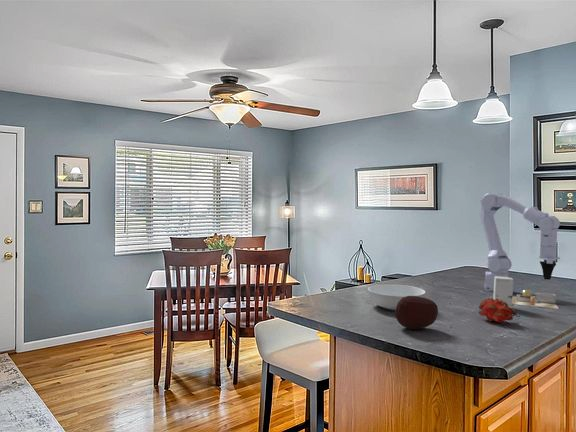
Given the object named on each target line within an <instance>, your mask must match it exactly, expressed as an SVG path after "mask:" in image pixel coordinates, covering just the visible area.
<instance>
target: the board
mask: <svg viewBox="0 0 576 432" xmlns="http://www.w3.org/2000/svg"><path fill="white" fill-rule="evenodd" d="M512 305H517V306H518V305H519V306H527V307H528V306H529V307H539V308H548V309H556V310H557V309H559V307H558V305H557V303H547V302H537V303H536V302H535V305H531V302H526V301H517V298H516V296H514V295H513V296H512Z"/></svg>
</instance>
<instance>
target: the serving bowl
mask: <svg viewBox="0 0 576 432" xmlns="http://www.w3.org/2000/svg"><path fill="white" fill-rule="evenodd" d="M367 293H368V297H369V299H370V300H371V301H372V302H373V303H374V304H375V305H376V306H378V307H381V308H384V309H387V310H389V311H396V306H397V304H398V302H399V301H400V300H401V299H402V298H403V297H406V296H418V297H423V298H426V293H427V292H426V290H424V288H420V287H417V286H412V285H406V284H405V285H404V284H389V283H387V284H386V283H385V284H375V285H371V286H368V288H367Z"/></svg>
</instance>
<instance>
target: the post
mask: <svg viewBox="0 0 576 432" xmlns="http://www.w3.org/2000/svg"><path fill="white" fill-rule="evenodd" d="M521 295H522V298H531V296H532V290H530V289H522V294H521Z"/></svg>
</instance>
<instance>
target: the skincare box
mask: <svg viewBox="0 0 576 432" xmlns="http://www.w3.org/2000/svg"><path fill="white" fill-rule="evenodd" d="M513 293H514V279H513V278H512V277H510V276H508V277H497V276H495V277H494V292H493V294H492V295H493V297H492V298H493V299H494V300H495V299H499V300H502V302H505V303H507V305H508V307H510V308H512V309H513V304H512V296H514V295H513Z"/></svg>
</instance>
